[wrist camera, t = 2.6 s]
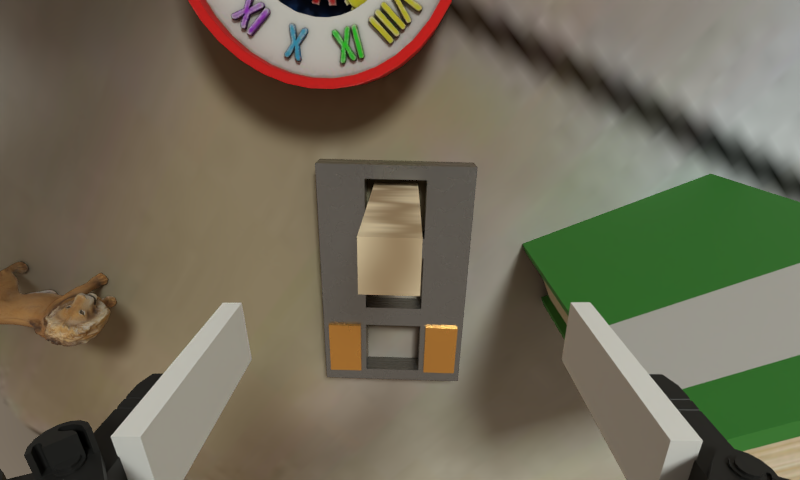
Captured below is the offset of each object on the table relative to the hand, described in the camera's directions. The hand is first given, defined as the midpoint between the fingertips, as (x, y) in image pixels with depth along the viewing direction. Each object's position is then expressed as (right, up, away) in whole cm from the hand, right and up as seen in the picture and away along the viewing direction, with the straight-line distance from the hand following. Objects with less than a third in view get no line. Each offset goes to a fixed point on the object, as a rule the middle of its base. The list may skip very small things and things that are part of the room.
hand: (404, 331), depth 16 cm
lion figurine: (-34, -1, +26) cm, 43 cm away
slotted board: (-1, 0, +25) cm, 25 cm away
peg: (-1, +7, +22) cm, 23 cm away
